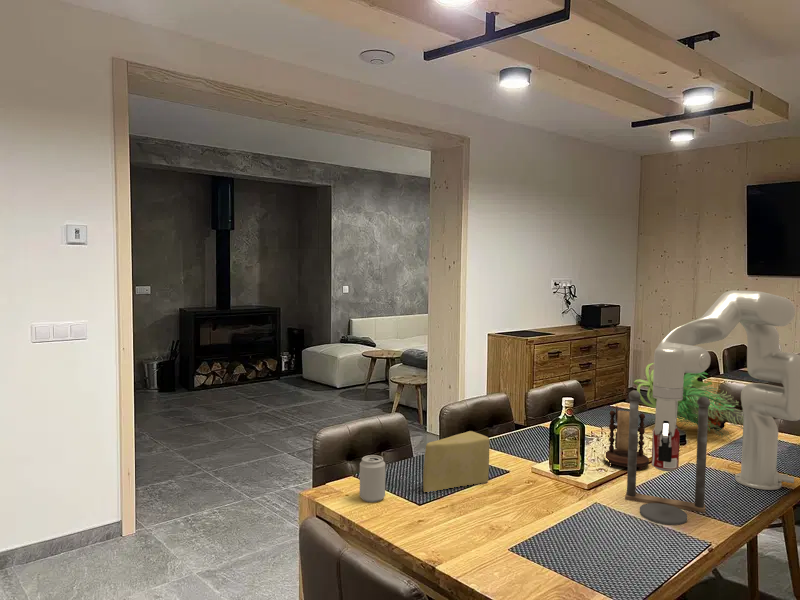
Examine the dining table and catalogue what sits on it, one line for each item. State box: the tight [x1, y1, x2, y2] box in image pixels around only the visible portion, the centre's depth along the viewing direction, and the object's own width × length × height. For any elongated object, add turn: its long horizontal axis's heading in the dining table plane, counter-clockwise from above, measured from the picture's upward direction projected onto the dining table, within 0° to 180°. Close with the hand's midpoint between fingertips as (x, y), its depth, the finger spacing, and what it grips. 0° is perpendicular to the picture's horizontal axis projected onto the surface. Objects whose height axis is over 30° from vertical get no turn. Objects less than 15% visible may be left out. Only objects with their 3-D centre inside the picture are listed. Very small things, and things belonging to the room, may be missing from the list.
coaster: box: [639, 503, 688, 526], centre depth 166 cm, size 12×12×1 cm
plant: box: [632, 362, 743, 442], centre depth 248 cm, size 35×35×40 cm
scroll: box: [605, 405, 650, 471], centre depth 207 cm, size 15×15×20 cm
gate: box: [624, 389, 711, 514], centre depth 173 cm, size 21×4×32 cm, turn 64°
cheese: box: [422, 430, 490, 493], centre depth 186 cm, size 22×10×15 cm, turn 125°
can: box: [359, 454, 386, 503], centre depth 176 cm, size 8×8×12 cm
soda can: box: [651, 424, 681, 472], centre depth 165 cm, size 7×7×12 cm
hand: (665, 456), depth 165 cm, fingers closed on soda can, 6 cm apart
